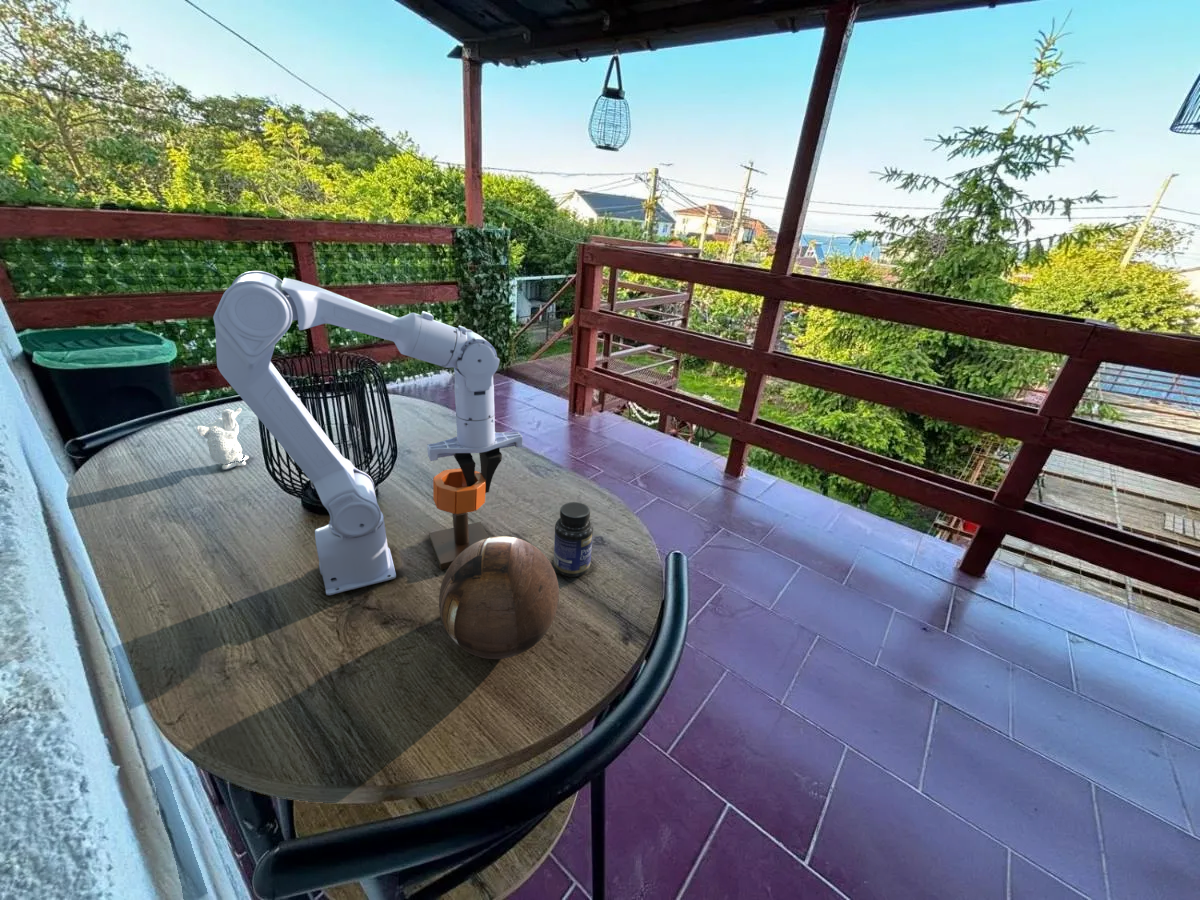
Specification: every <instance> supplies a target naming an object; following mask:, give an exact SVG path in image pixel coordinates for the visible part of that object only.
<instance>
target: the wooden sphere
mask: <svg viewBox="0 0 1200 900" xmlns="http://www.w3.org/2000/svg"><path fill="white" fill-rule="evenodd" d="M559 600H560V587H559V581H558V577H557V573H556V570H555V568H554V566H553V565H552V563H551V561H550V560H549V559H548V556H546V554H544V552H542V551H541V550H540V549H539V548H538V547H537V546H535V545H534V544H532V543H530V542H528V541H526V540H524V539H521V538H518V537H515V536H508V535H507V536H506V535H503V536H502V535H500V536H492V537H489V538H487V539H484V540H481V541H478V542H476V543H474V544H472V545H471V546H469V547H468V548H466V549H465V550H464V551H462V552H461V553H460V554H459V555H458V556H457V557H456V558H455V559H454V561H453V562H452V563H451V565H450V566H449V568H447V569H446V571H445V574H444V576H443V578H442V581H441V585H440V589H439V594H438V607H439V613H440V618H441V621H442V624H443V626H444V629H445V630H446V633H447V634H448V635H449V637H450V639H452V641H453V642H454V643H455V644H456V645H457V646H458V647H460V648H461V650H462V649H463V650H464V651H465V652H467V653H469V654H470V655H474V656H476V657H479V658H483V659H488V660H504V659H509V658H512V657H513V658H514V657H515V656H518V655H521V654H522V653H524V652H526V651H528V650H529V649H531V648H533V647H534V646H535V645H536V644H537V643H539V642H540V641H541V640H542V639H543V638H544V636H546V634H547V633H548V631H549V630H550V628H551V626H552V624H553V623H554V620H555V618H556V615H557V612H558V608H559Z"/></svg>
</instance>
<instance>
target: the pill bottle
mask: <svg viewBox="0 0 1200 900" xmlns="http://www.w3.org/2000/svg"><path fill="white" fill-rule="evenodd" d="M590 518H591V509H590V507H589V505H587V504H585V503H582V502H578V501H569V502H566V503H564V504H562V505H561V507H560V509H559V518H558V519H557V520H556V522H555V525H554V542H553V544H554V545H553V546H554V547H553V568H554V570H555V571H557V572H558V573H559V574H560V575H562V576H565V577H569V578H575V577H580V576H583V575H585V574H587V572H588V571H589V570H590V568H591V561H592V549H593V537H594V536H593V535H594V524H593V522H592V521H591V519H590Z"/></svg>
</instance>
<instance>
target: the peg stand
mask: <svg viewBox="0 0 1200 900" xmlns="http://www.w3.org/2000/svg"><path fill="white" fill-rule="evenodd" d="M451 514H452V524H453V526H452V527H451V528H445V529H442V530H437V531H432V532H429V533H428V538H429V542H430V543H431V546H432V549H433V552H434V555H435V557H436V560H437V562H438V565H439V568H440V570H442V571H443V570H447V569H448V568H449V566H450V565H451V563H452V562H453V561H454V559H455V558H456V557H457V556H458V555H459V554H460V553H461V552H462V551H464V550H465V549H466V548H468V547H469V546H471V545H472V544H474V543H476V542H478V541H481V540H484V539H487V538H490V537H489V535H488V533H487V531H486V529H485V527H484V525H483V524H482V522H481V521H476V522H473V523H469V516H468V515H469V512H467V513H460V514H456V513H455V514H453V513H451Z"/></svg>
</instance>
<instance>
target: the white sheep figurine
mask: <svg viewBox="0 0 1200 900" xmlns="http://www.w3.org/2000/svg"><path fill="white" fill-rule="evenodd" d="M242 410H243V409H242V408H241V407H238V408H236V409H235V410H233V409H228V408H226V409H223V410H222V411H220V412H221V417H218V418H216V419H215V420H214V421H211V422H207V423H205V424H203V425H200V424H199V425H197V427H196V431H197V433H198V435H199V436H200V437H202V438H203V437H204V439H206V443H207V445H208V452H209V455H210V458H211V460H212V461H213V462H215V463H217V464H220V465H221V469H222V470H229V469H233V468H234V467H243V466H246V464H247V462H246V461H247V460H248V459H249V458H250V456H248V455H246V454H243V448H242V445H241V444H240V442H239V441H238V435H239V433H240V432H239V430H240V427H239V423H238V422H237V420H236V418H237V417H238V416H239V414H240V413H241V412H242ZM243 455H245V457H244V458H243ZM242 458H243V459H242ZM242 460H244V461H243V462H242V463H238V462H236V461H239V462H240V461H242ZM234 461H235V463H231V464H228V465H225V464H226V463H230V462H234Z"/></svg>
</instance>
